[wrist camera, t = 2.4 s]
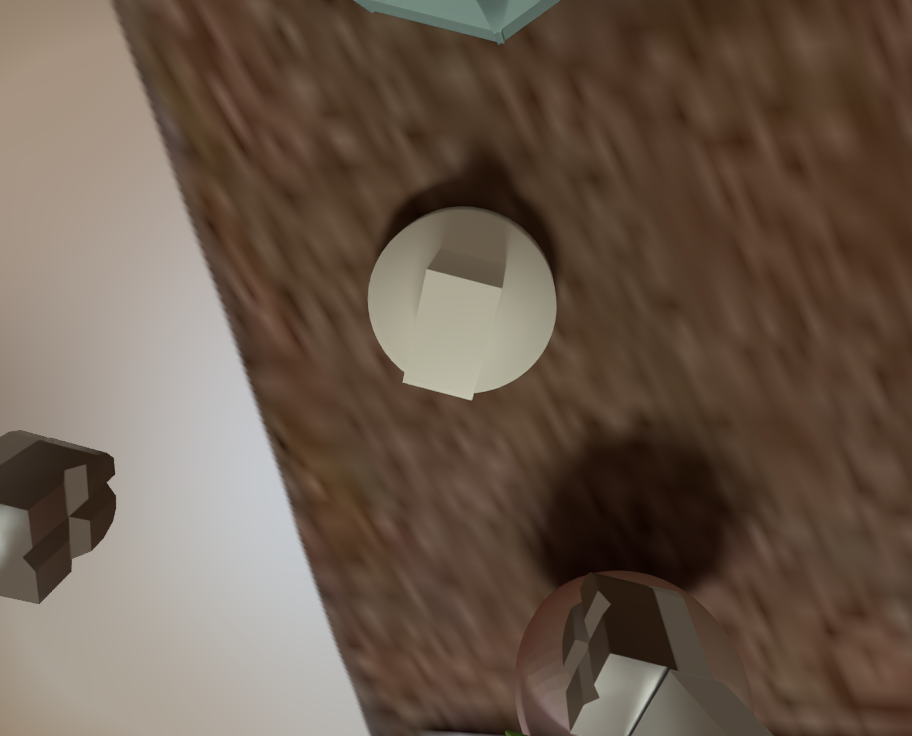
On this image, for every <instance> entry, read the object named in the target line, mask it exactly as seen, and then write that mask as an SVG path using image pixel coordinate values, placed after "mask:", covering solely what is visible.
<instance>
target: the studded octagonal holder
mask: <svg viewBox="0 0 912 736" xmlns="http://www.w3.org/2000/svg"><path fill="white" fill-rule="evenodd" d="M354 1H355V2H357V3H358V4H360V5H361V6H363V7H364V8H366V9H367V10H368V11H370V12H371V13H373V12H375V11H376V12H380V13H384V14H388V15H392V16H396V17H400V18H404V19H408V20H412V21H416V22H420V23H424V24H428V25H432V26H436V27H440V28H444V29H448V30H452V31H456V32H460V33H464V34H468V35H472V36H476V37H480V38H484V39H488V40H492V41H496V42H497V43H498V45H499V44H501V43H504V44H505V40H506V39H508V38H509V37H510V36H512V35H513V34H514V33H516V32H517V31H519V30H520V29H521V28H523V27H524V26H526V25H527V24H528V23H530V22H531V21H533V20H534V19H535V18H537V17H538V16H539V15H541V14H542V13H544V12H545V11H546V10H548V9H549V8H551V7H552V6H553V5H555V4H556V3H558V2H559V1H560V0H354Z"/></svg>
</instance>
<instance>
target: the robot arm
mask: <svg viewBox="0 0 912 736" xmlns="http://www.w3.org/2000/svg"><path fill="white" fill-rule="evenodd" d="M114 475H115V468H114V458H113V457H112V456H110V455H109V454H108V453H105V452H102V451H98V450H94V449H90V448H87V447H83V446H79V445H76V444H72V443H68V442H65V441H61V440H57V439H54V438H47V437H44V436H40V435H37V434H33V433H29V432H26V431H21V430H19V431H11V432H8V433H6V434H5V435H3V436H1V437H0V596H4V597H8V598H13V599H17V600H22V601H27V602H32V603H36V604H40V603H41V602H42V601H43V600H44V599H45V598H46V597H47V596H48V595H49V593H51V592H52V590H53V589H54V588H55V587H56V586H57V585H58V584H59V583H60V582H61V581H62V580H63V579H64V578H65V577H66V576H67V575H68V574H69V573H70V572H71V566H72V559H73V558H75V557H78V556H80V555H83V554H85V553H88V552H90V551H92V550H93V549H94V548H95V547H96V546H97V545H98V543H99V542H100V541H101V540H102V539H103V538H104V536H105V535H106V533H107V531H108V529H109V527H110V526H111V524H112V522H113V519H114V514H115V510H116V495H115V494H114V493H113V491H112V490H111V488H110V487H109V485H108V484H107V482H108V481H109V480H110V479H111V477H113V476H114ZM580 593H581V600H582V602H580V603H579V604H577V605H575V606H573V607H571V610H570V612H569V615H568V618H567V620H566V623H565V628H564V633H563V639H562V657H563V667H564V668H565V669H566V671H567V672H568V674H569V675H570V677H571V678H572V679H571V682H570V684H569V686H568V688H567V690H566V700H567V709H568V719H569V728H570V733H572V734H575V735H579V736H773V735H772V734H771V732H770V731H769V730H768V729H767V728H766V727H765V726H764V725H763V724H762V723H761V722H760V721H759V720H758V719H757V718H756V717H755V716H754V714H753V713H752V712H751V711H750V710H749V709H748V708H747V707H746V706H745V705H744V704H743V703H742V702H741V701H740V700H739V699H738V698H737V696H736V695H735V694H734V693H733V692H732V691H731V690H730V689H729V688H728V687H727V686H726V685H725V684H724V683H723V682H719V681H715V680H714V678H713V676H712V673H711V670H710V668H709V665H708V662H707V660H706V657H705V654H704V652H703V649H702V646H701V644H700V641H699V638H698V636H697V633H696V630H695V628H694V625H693V622H692V620H691V617H690V614H689V612H688V609H687V606H686V604H685V601H684V598H683V597H682V596H681V594H680V593H679V592H676V591H672V590H667V589H663V588H659V587H654V586H650V585H648V586H646V585H643V584H639V583H635V582H630V581H626V580H622V579H618V578H614V577H609V576H605V575H601V574H597V573H593V572H589V574H588V575H587V576H586V577H585V578H584V581H583V583H582V585H581V587H580Z"/></svg>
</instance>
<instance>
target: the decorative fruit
mask: <svg viewBox="0 0 912 736" xmlns="http://www.w3.org/2000/svg"><path fill="white" fill-rule="evenodd" d="M597 574H601V575H605V576H609V577H614V578H618V579H622V580H626V581H630V582H635V583H639V584H643V585H646V586H648V585H650V586H654V587H659V588H663V589H667V590H672V591H676V592H679V593H680V594H681V596H682V597H683V598H684V601H685V604H686V606H687V609H688V612H689V614H690V617H691V620H692V622H693V625H694V628H695V630H696V633H697V636H698V638H699V641H700V644H701V646H702V649H703V652H704V654H705V657H706V660H707V662H708V665H709V668H710V670H711V673H712V676H713V678H714V680H715V681H719V682H723V683H724V684H725V685H726V686H727V687H728V688H729V689H730V690H731V691H732V692H733V693H734V694H735V695H736V696H737V698H738V699H739V700H740V701H741V702H742V703H743V704H744V705H745V706H746V707H747V708H748V709H749V710H750V711H751V712H752V713H753V714H754V708H753V702H752V697H751V692H750V687H749V684H748V680H747V677H746V674H745V671H744V668H743V665H742V662H741V660H740V657H739V655H738V653H737V651H736V649H735V647H734V645H733V643H732V642H731V640H730V638H729V637H728V635H727V634H726V632H725V631H724V630H723V628H722V627H721V626H720V624H719V623H718V622H717V621H716V620H715V618H714V617H713V616H712V615H711V614H710V613H709V612H708V611H707V610H706V609H705V608H704V607H703V606H702V605H701V604H700V603H699V602H698V601H697V600H696V599H694V598H693V597H692V596H691V595H689V594H688V593H687V592H685V591H684V590H682V589H680V588H679V587H677V586H675V585H673V584H671V583H669V582H668V581H665V580H663V579H661V578H658V577H655V576H652V575H648V574H644V573H639V572H632V571H603V572H597ZM586 576H587V575H585V576H582V577H578V578H576V579H573V580H571V581H569V582H567V583H566V584H564V585H562V586H561V587H560V588H558V589H557V590H555V591H554V592H553V593H552V594H550V595H549V596H548V598H547V599H546V600H545V601H544V602H543V603H542V604H541V606H540V607H539V608H538V610H537V611H536V612H535V614H534V616H533V617H532V619H531V621H530V623H529V625H528V627H527V629H526V631H525V633H524V636H523V638H522V641H521V644H520V648H519V652H518V657H517V662H516V670H515V699H516V707H517V712H518V718H519V722H520V725H521V729H522V732H523V734H522V733H518V732H514V731H509V730H507V731H506V732H505V734H506V736H579V735H575V734H572V733H570V728H569V719H568V709H567V700H566V690H567V688H568V686H569V684H570V682H571V679H572V678H571V677H570V675H569V674H568V672H567V671H566V669H565V668H564V667H563V657H562V639H563V633H564V628H565V623H566V620H567V618H568V615H569V612H570V610H571V607H573V606H575V605H577V604H579V603H580V602H582V600H581V593H580V587H581V585H582V583H583V581H584V578H585V577H586Z"/></svg>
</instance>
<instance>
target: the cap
mask: <svg viewBox="0 0 912 736" xmlns="http://www.w3.org/2000/svg"><path fill="white" fill-rule="evenodd" d="M368 309H369V315H370V320H371V324H372V327H373V330H374V333H375V335H376V337H377V339H378V341H379V343H380V345H381V346H382V348H383V350H384V351H385V353H386V354H387V355H388V356H389V358H390V359H391V360H392V361H393V362H394V363H395V364H396V365H397V366H398V367H399V368H400V369H401V370H402V371H404V372H405V374H404V378H403V383H407V384H411V385H415V386H418V387H422V388H426V389H430V390H434V391H438V392H441V393H445V394H449V395H453V396H457V397H461V398H464V399H468V400H472V398H473V394H474V393H478V392H484V391H489V390H492V389H496V388H499V387H501V386H503V385H506V384H508V383H510V382H511V381H513V380H515V379H517V378H518V377H519V376H521V375H522V374H523V373H525V372H526V371H527V370H528V369H529V368H530V367H531V366H532V365H533V364H534V363H535V362H536V361H537V359H538V358H539V357H540V356H541V354H542V353H543V351H544V349H545V348H546V346H547V344H548V342H549V339H550V337H551V334H552V332H553V328H554V324H555V318H556V293H555V287H554V281H553V275H552V272H551V269H550V266H549V263H548V261H547V259H546V257H545V254H544V253H543V251H542V249H541V248H540V246H539V245H538V243H537V242H536V241H535V240H534V239H533V237H532V236H531V235H530V234H529V233H528V232H527V231H526V230H525V229H523V228H522V227H521V226H520V225H519V224H517V223H516V222H514V221H513V220H511V219H510V218H508V217H505V216H503V215H501V214H499V213H497V212H494V211H491V210H488V209H484V208H478V207H469V206H457V207H448V208H443V209H439V210H436V211H433V212H430V213H428V214H425V215H424V216H422V217H420V218H418V219H416V220H415V221H413V222H412V223H411V224H409V225H408V226H407V227H405V228H404V229H403V230H402V231H401V232H400V233H398V234H397V235H396V236H395V237H394V238H393V239H392V240H391V241H390V242H389V244H388V245H387V246H386V248H385V249H384V250H383V252H382V253H381V255H380V257H379V259H378V260H377V262H376V264H375V267H374V270H373V272H372V275H371V280H370V284H369V292H368Z"/></svg>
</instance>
